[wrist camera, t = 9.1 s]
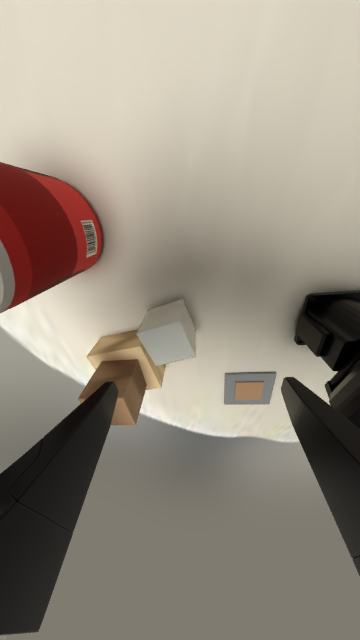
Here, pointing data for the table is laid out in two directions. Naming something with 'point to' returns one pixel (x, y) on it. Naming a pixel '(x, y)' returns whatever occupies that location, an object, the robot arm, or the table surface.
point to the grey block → (168, 333)
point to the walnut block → (120, 388)
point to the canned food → (42, 234)
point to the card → (249, 387)
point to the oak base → (127, 356)
